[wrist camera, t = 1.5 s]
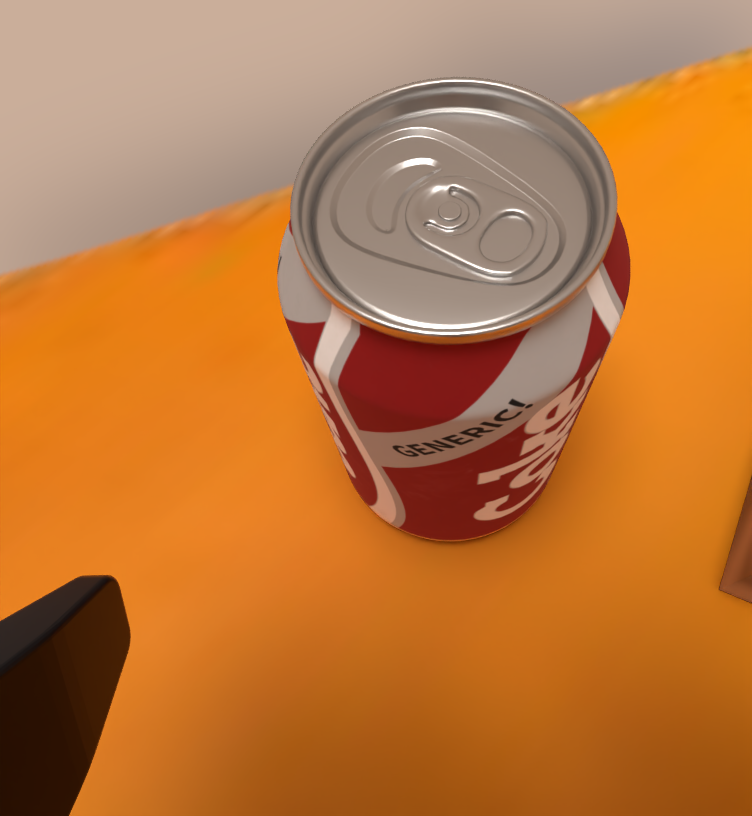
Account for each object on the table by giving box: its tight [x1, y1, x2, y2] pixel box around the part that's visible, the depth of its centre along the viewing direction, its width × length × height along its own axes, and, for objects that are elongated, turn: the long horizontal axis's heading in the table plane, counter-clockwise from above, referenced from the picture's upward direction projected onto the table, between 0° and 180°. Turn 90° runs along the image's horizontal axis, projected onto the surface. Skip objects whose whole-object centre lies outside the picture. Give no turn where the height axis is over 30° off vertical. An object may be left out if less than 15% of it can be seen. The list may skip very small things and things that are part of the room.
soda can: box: [278, 77, 630, 541], centre depth 17 cm, size 7×7×12 cm
